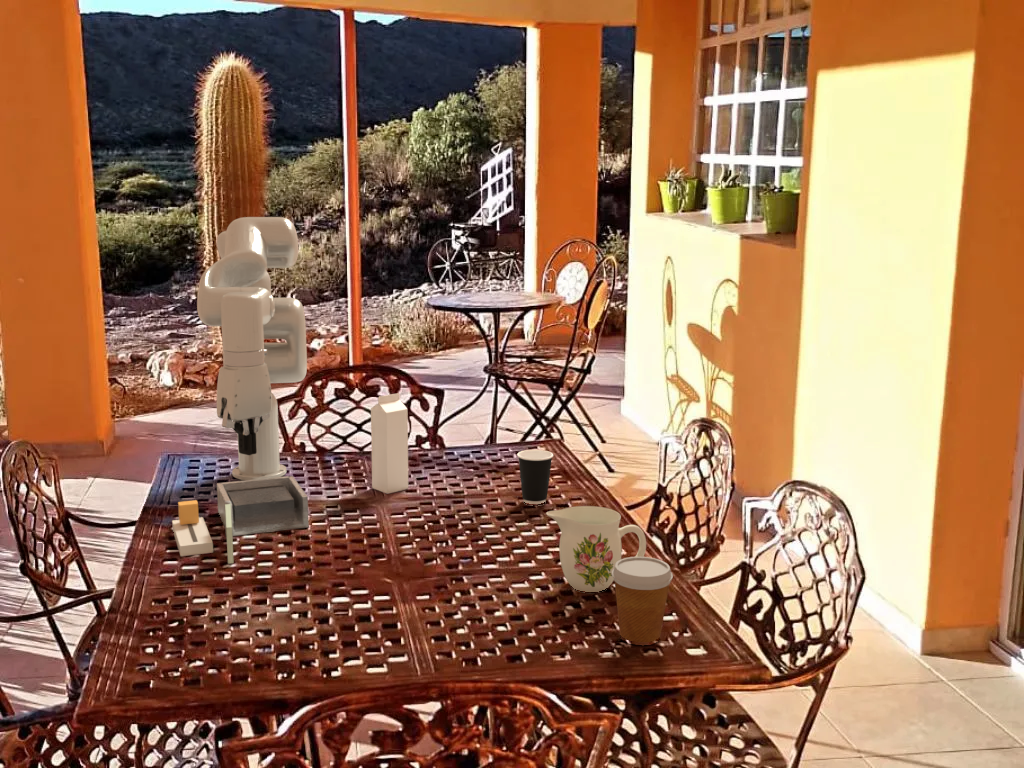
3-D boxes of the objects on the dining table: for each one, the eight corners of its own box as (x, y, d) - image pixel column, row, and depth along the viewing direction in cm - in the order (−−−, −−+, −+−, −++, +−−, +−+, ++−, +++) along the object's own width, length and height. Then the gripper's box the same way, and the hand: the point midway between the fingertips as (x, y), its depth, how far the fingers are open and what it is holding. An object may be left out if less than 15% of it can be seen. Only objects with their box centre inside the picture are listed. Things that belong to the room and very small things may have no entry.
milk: (408, 489, 249) (408, 395, 244) (387, 494, 245) (386, 398, 240) (392, 483, 253) (392, 390, 249) (371, 488, 249) (370, 394, 245)
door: (232, 535, 216) (231, 500, 215) (234, 563, 201) (232, 526, 200) (225, 535, 216) (224, 501, 214) (226, 563, 201) (225, 526, 200)
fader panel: (172, 529, 220) (172, 520, 219) (203, 526, 222) (202, 516, 222) (180, 556, 205) (180, 545, 205) (213, 552, 208) (212, 541, 207)
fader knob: (179, 521, 218) (178, 502, 217) (197, 519, 219) (196, 500, 219) (180, 524, 216) (179, 505, 215) (198, 522, 217) (198, 503, 217)
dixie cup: (559, 503, 239) (560, 455, 237) (531, 510, 234) (531, 461, 232) (537, 494, 245) (538, 447, 243) (509, 500, 241) (509, 452, 238)
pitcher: (652, 595, 189) (654, 520, 186) (549, 599, 187) (551, 523, 184) (637, 572, 199) (639, 500, 197) (540, 576, 197) (541, 503, 194)
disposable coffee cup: (597, 637, 172) (599, 565, 170) (635, 620, 179) (637, 551, 176) (644, 657, 165) (647, 582, 163) (682, 638, 172) (685, 566, 170)
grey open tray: (218, 512, 231) (216, 483, 229) (293, 504, 237) (292, 475, 235) (228, 536, 216) (227, 505, 215) (308, 527, 222) (307, 496, 221)
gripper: (260, 351, 211) (264, 442, 214) (198, 362, 199) (203, 458, 203) (287, 355, 207) (290, 448, 210) (225, 366, 195) (229, 465, 198)
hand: (247, 453), depth 206 cm, fingers closed
